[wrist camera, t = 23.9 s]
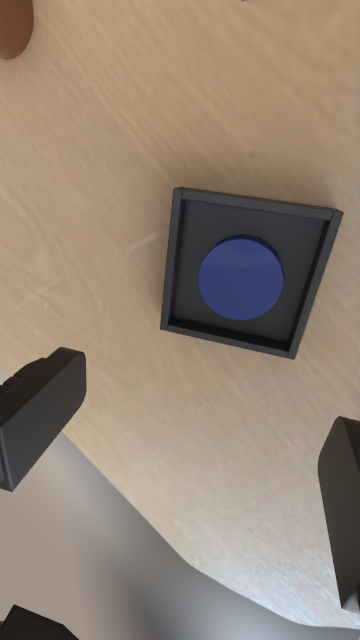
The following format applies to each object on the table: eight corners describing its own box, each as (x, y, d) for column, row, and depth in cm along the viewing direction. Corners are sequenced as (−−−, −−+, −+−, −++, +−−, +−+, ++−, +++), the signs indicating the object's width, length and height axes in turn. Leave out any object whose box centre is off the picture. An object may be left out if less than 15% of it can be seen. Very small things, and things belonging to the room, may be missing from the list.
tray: (166, 319, 27) (159, 329, 25) (180, 186, 22) (173, 187, 20) (292, 347, 25) (294, 360, 23) (337, 208, 20) (344, 211, 19)
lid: (291, 241, 21) (293, 247, 20) (270, 317, 24) (271, 327, 22) (209, 228, 22) (204, 232, 21) (197, 302, 25) (192, 311, 23)
